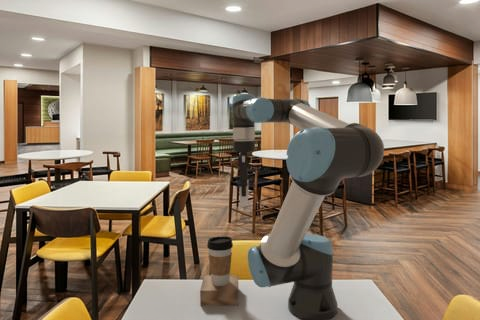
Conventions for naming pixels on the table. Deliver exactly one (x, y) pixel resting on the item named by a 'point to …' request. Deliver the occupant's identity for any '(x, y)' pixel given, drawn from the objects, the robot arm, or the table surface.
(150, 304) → the table surface
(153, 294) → the table surface
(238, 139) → the robot arm
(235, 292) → the walnut block
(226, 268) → the coffee cup
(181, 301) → the table surface
